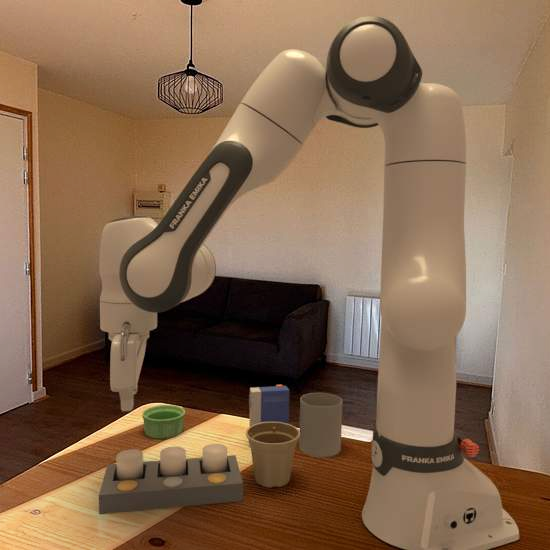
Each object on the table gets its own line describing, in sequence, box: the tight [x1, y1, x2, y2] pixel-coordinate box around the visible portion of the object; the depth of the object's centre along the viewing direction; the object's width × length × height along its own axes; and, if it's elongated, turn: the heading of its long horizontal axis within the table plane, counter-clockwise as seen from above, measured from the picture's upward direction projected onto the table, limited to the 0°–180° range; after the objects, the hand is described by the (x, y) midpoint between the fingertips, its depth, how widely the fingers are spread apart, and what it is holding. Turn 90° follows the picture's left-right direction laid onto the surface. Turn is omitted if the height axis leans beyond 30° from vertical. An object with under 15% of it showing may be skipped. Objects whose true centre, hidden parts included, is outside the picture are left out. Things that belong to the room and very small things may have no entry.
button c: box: [116, 448, 144, 480], centre depth 81 cm, size 4×4×3 cm
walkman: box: [248, 384, 290, 449], centre depth 100 cm, size 8×3×12 cm, turn 104°
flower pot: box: [245, 422, 300, 489], centre depth 86 cm, size 9×9×9 cm
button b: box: [159, 446, 187, 477], centre depth 83 cm, size 4×4×3 cm
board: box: [98, 454, 244, 515], centre depth 81 cm, size 22×10×3 cm, turn 102°
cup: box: [298, 392, 343, 458], centre depth 99 cm, size 8×8×10 cm
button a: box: [201, 443, 228, 474], centre depth 84 cm, size 4×4×3 cm
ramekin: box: [141, 404, 186, 440], centre depth 105 cm, size 9×9×4 cm
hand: (129, 401), depth 80 cm, fingers open, 6 cm apart
